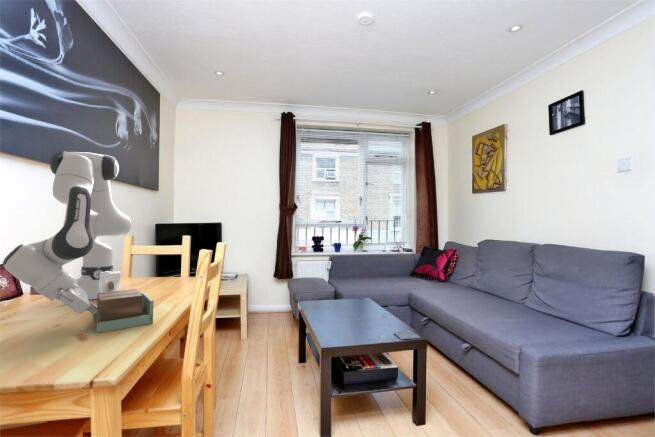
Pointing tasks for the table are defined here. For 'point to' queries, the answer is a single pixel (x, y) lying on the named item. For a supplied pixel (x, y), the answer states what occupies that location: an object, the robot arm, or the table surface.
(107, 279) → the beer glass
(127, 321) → the green bay
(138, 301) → the walnut block
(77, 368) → the table surface
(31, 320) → the table surface
